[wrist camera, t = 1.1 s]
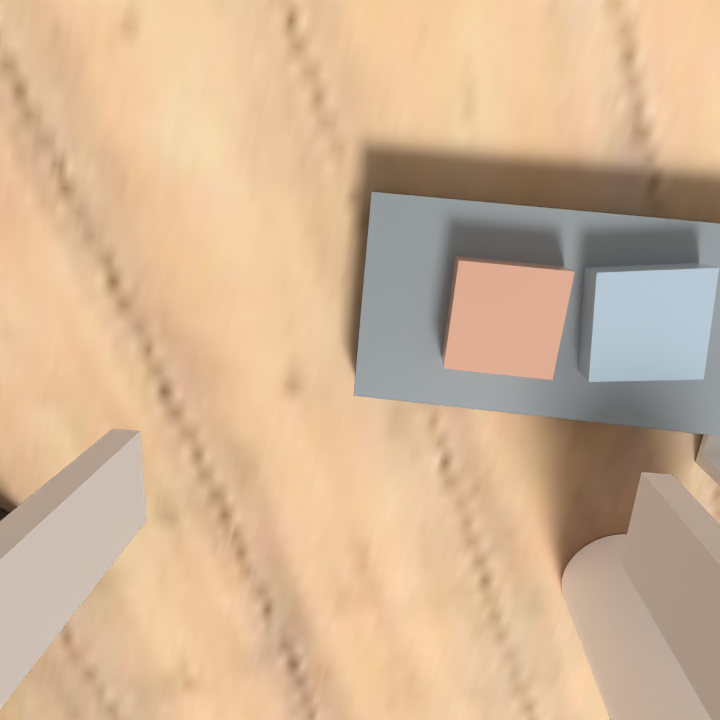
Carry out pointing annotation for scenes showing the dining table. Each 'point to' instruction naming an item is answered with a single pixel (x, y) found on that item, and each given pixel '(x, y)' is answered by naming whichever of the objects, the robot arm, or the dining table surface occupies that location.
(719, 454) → the box
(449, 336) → the terracotta tile
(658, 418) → the board
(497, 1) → the dining table surface
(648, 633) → the cup
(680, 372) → the blue tile
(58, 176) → the dining table surface
